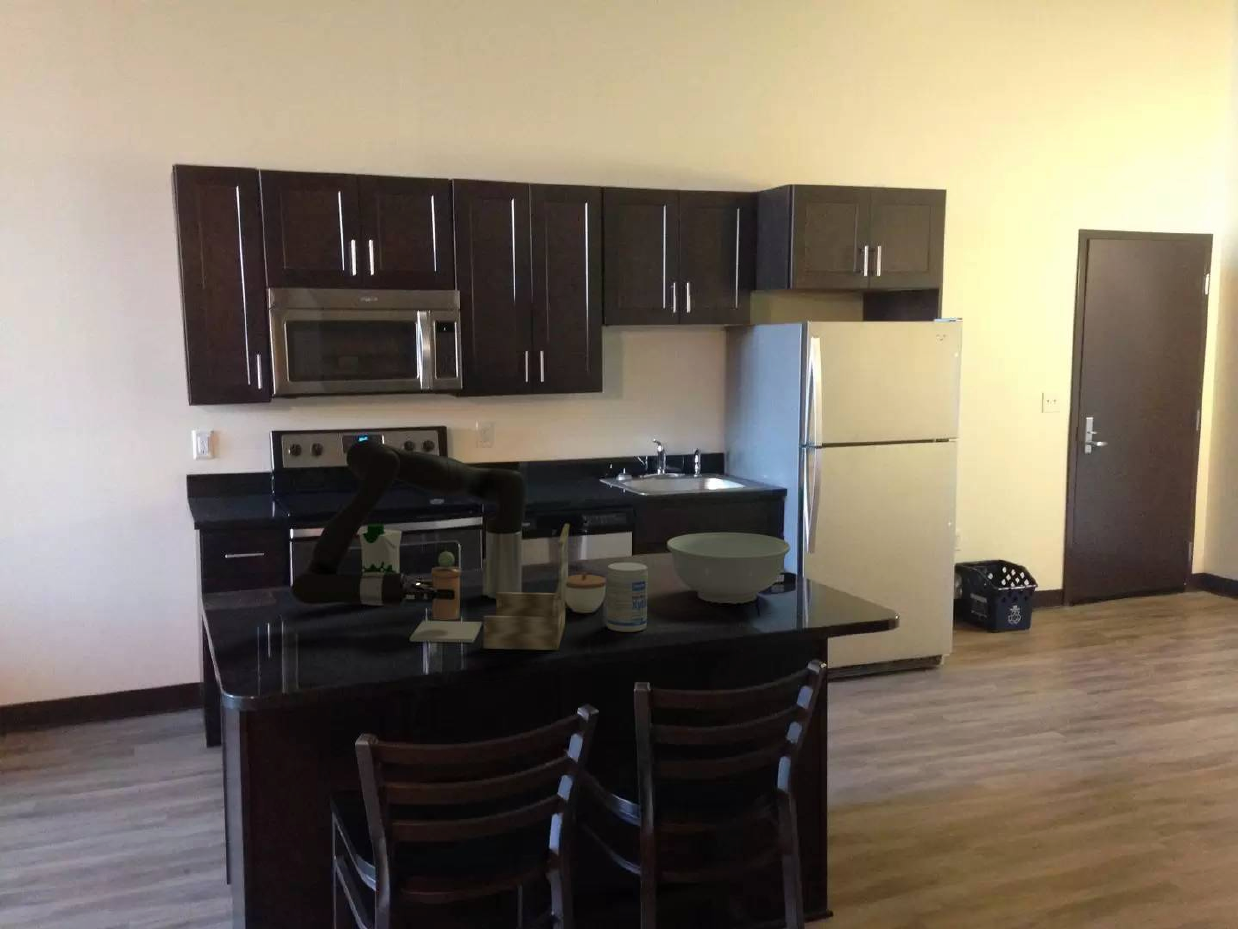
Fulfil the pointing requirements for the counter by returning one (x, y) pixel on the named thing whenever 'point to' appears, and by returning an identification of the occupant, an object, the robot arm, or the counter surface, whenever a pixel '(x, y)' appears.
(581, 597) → the lidded jar
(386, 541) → the milk carton
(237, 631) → the counter surface
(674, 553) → the bowl
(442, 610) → the terracotta pot
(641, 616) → the supplement tub
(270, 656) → the counter surface
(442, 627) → the paving slab
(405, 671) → the counter surface
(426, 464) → the robot arm
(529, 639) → the cold frame
